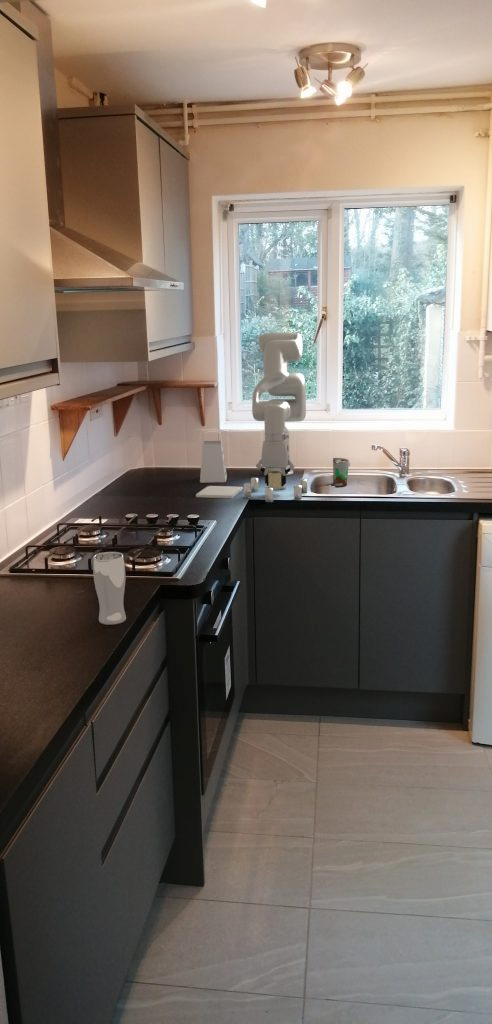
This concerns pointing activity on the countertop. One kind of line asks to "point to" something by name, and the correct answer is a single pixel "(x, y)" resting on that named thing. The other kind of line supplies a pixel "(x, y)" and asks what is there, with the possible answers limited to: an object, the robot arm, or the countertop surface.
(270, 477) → the faceted candle holder
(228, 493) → the mat
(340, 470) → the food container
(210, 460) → the grater
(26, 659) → the countertop surface
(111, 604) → the beer glass
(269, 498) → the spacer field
